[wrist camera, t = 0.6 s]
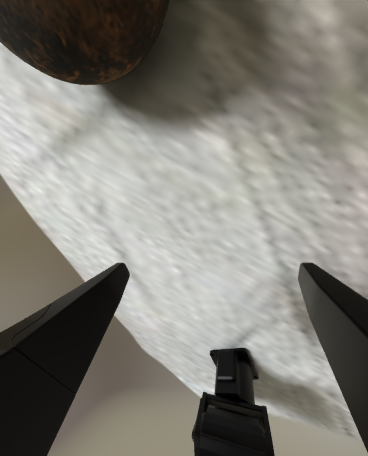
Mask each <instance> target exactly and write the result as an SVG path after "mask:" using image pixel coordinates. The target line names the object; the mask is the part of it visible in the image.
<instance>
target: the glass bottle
mask: <svg viewBox="0 0 368 456" xmlns="http://www.w3.org/2000/svg"><path fill="white" fill-rule="evenodd" d="M169 1H170V0H0V42H1V43H2V44H3V45H4V46H5V47H7V48H8V49H9V50H10V51H11V52H12V53H14V54H15V55H16V56H18V57H19V58H20V59H22V60H23V61H24V62H26V63H27V64H29V65H31V66H32V67H34V68H36V69H37V70H39V71H41V72H43V73H45V74H47V75H49V76H51V77H53V78H56V79H59V80H61V81H65V82H69V83H73V84H79V85H97V84H103V83H108V82H111V81H114V80H116V79H119V78H121V77H122V76H124V75H126V74H127V73H129V72H130V71H131V70H133V69H134V68H135V67H136V66H137V65H138V64H139V63H140V62H141V61H142V60H143V58H144V57H145V55H146V54H147V53H148V51H149V50H150V49H151V47H152V45H153V43H154V42H155V40H156V38H157V36H158V34H159V31H160V29H161V26H162V24H163V21H164V18H165V15H166V12H167V8H168V4H169Z"/></svg>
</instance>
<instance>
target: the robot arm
mask: <svg viewBox="0 0 368 456" xmlns="http://www.w3.org/2000/svg"><path fill="white" fill-rule="evenodd" d="M129 276H130V273H129V271H128V269H127V267H126V265H125V264H124V263H116V264H115V265H113V266H111V267H110V268H108V269H106V270H105V271H103V272H101V273H100V274H98V275H97V276H95V277H93V278H92V279H90V280H88V281H87V282H85V283H83V284H82V285H80V286H79V287H77V288H75V289H74V290H72V291H70V292H69V293H67V294H66V295H64V296H62V297H60V298H59V299H57V300H56V301H54V302H53V303H51V304H49V305H47V306H46V307H44V308H42V309H41V310H39V311H37V312H36V313H34V314H32V315H31V316H29V317H27V318H25V319H24V320H22V321H20V322H19V323H16V324H15V325H13V326H11V327H9V328H8V329H6V330H4V331H2V332H0V456H47V454H48V452H49V450H50V448H51V446H52V444H53V442H54V440H55V438H56V435H57V433H58V431H59V429H60V427H61V425H62V423H63V421H64V419H65V416H66V414H67V412H68V410H69V408H70V406H71V404H72V402H73V400H74V398H75V395H76V393H77V391H78V388H79V387H80V385H81V383H82V381H83V378H84V376H85V374H86V372H87V370H88V368H89V366H90V364H91V361H92V360H93V357H94V355H95V353H96V351H97V349H98V347H99V345H100V343H101V341H102V338H103V336H104V334H105V332H106V330H107V328H108V326H109V324H110V322H111V320H112V318H113V316H114V313H115V311H116V309H117V307H118V305H119V303H120V301H121V298H122V295H123V293H124V290H125V287H126V285H127V282H128V279H129ZM298 281H299V284H300V288H301V291H302V294H303V298H304V301H305V304H306V308H307V311H308V314H309V317H310V320H311V322H312V324H313V327H314V329H315V331H316V334H317V336H318V338H319V341H320V343H321V345H322V348H323V350H324V352H325V355H326V357H327V359H328V362H329V364H330V366H331V369H332V371H333V373H334V376H335V378H336V380H337V382H338V385H339V387H340V389H341V392H342V394H343V396H344V399H345V401H346V403H347V406H348V408H349V410H350V413H351V415H352V417H353V420H354V422H355V424H356V427H357V429H358V431H359V434H360V436H361V438H362V441H363V443H364V445H365V447H366V450H367V452H368V300H367V299H366V298H364V297H363V296H361V295H360V294H358V293H357V292H355V291H354V290H352V289H351V288H349V287H348V286H347V285H345V284H344V283H342V282H341V281H339V280H338V279H336V278H335V277H333V276H332V275H330V274H329V273H327V272H326V271H324V270H323V269H321V268H320V267H318V266H317V265H315V264H314V263H301V264H300V268H299V275H298ZM210 356H211V358H212V360H213V362H214V363H215V365H216V367H217V368H216V381H215V394H214V395H211V394H207V393H206V392H203V395H202V398H201V399H200V405H199V410H198V415H197V419H196V422H195V425H194V428H193V431H192V439H193V442H194V452H195V456H274V449H273V443H272V437H271V432H270V426H269V421H268V414H267V408H266V406H258V405H255V400H254V390H253V380H257V379H259V376H258V373H257V371H256V369H255V367H254V365H253V362H252V360H251V358H250V356H249V354H248V352H247V350H246V349H244V348H239V349H225V350H212V351H210Z"/></svg>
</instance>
